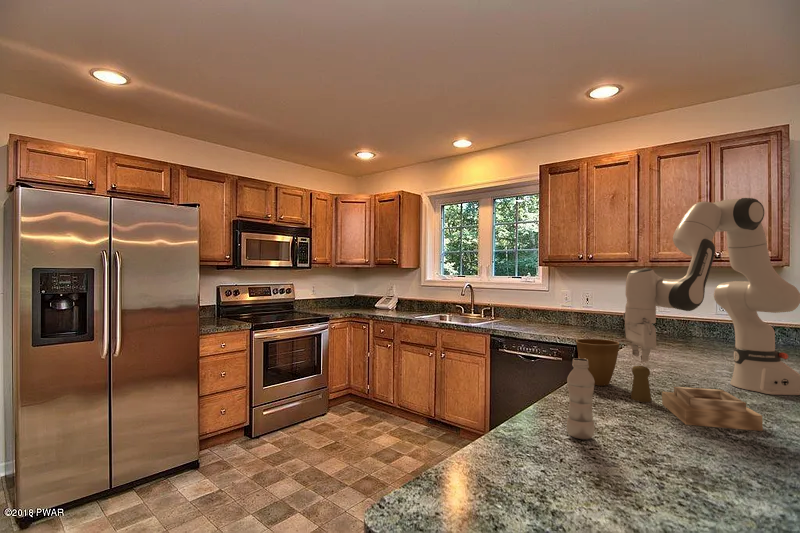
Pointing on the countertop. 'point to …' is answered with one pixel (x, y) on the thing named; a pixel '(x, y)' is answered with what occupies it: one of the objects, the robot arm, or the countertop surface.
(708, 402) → the display stand
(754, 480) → the countertop surface
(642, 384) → the cork
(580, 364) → the plastic bottle
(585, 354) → the plant pot
